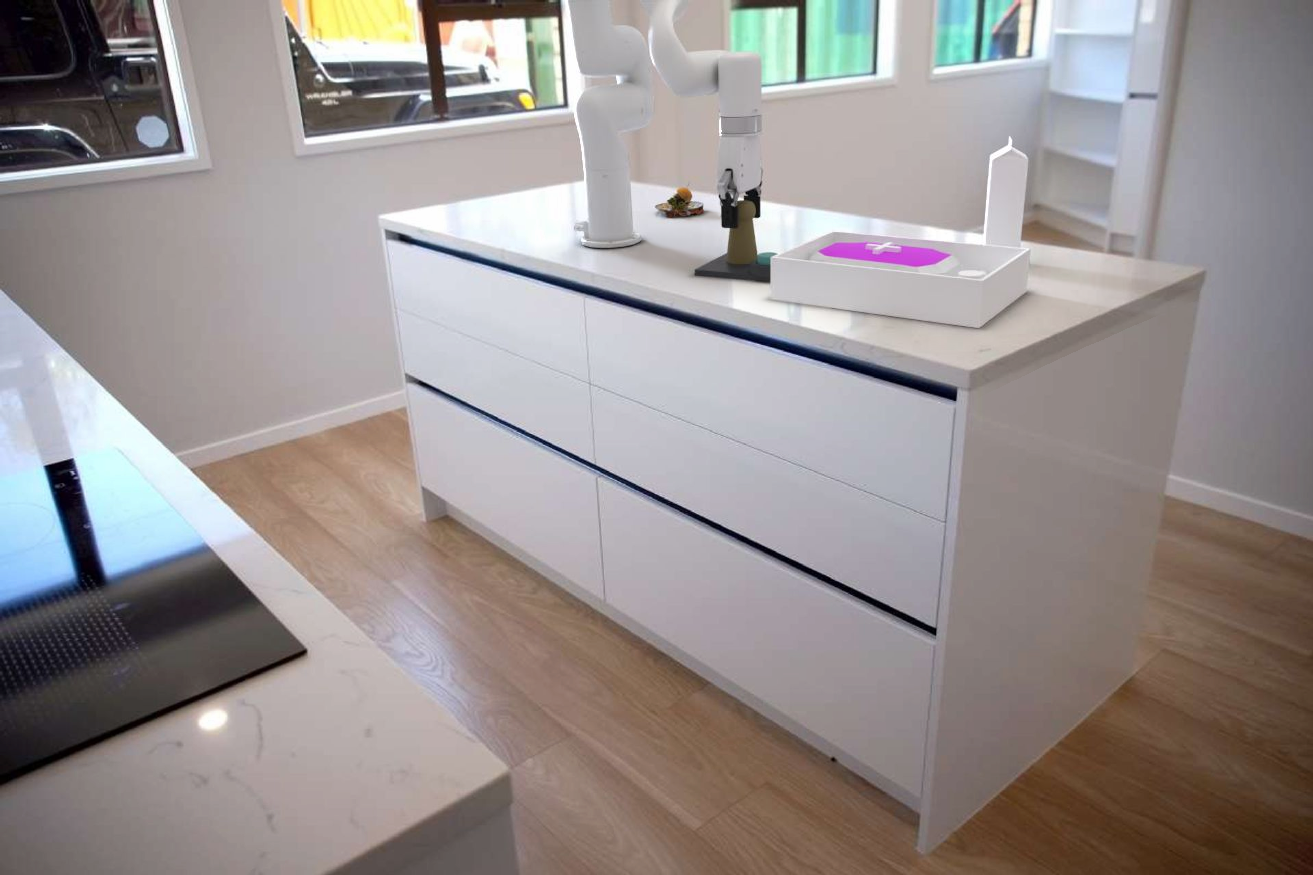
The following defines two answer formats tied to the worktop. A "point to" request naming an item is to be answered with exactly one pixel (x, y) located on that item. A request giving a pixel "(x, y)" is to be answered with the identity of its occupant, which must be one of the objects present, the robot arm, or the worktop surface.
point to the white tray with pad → (902, 277)
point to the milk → (1005, 197)
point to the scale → (735, 270)
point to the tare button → (765, 258)
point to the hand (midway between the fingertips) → (741, 222)
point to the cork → (743, 236)
